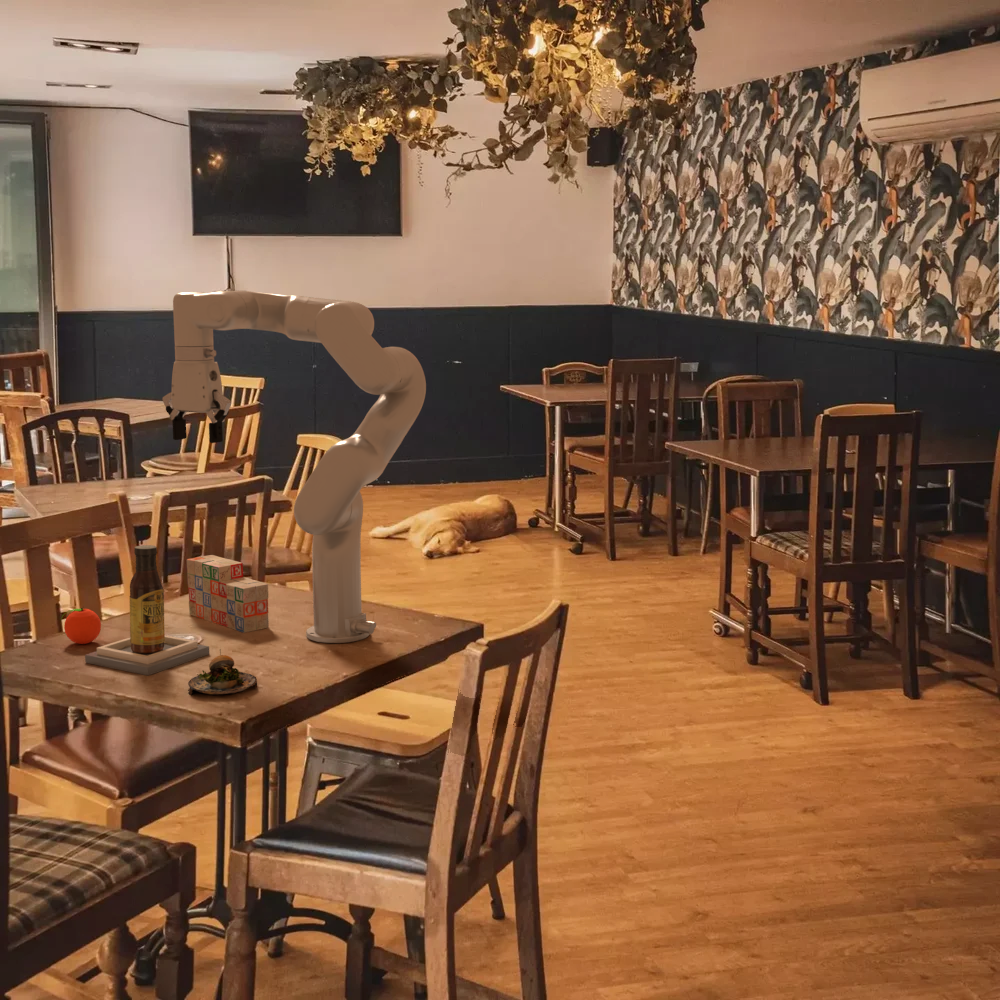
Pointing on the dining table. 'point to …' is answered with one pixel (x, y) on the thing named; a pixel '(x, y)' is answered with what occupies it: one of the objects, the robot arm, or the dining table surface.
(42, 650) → the dining table surface
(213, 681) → the burger
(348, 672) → the dining table surface
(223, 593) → the stack of blocks
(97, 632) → the clementine
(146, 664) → the slate coaster board
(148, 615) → the sauce bottle
